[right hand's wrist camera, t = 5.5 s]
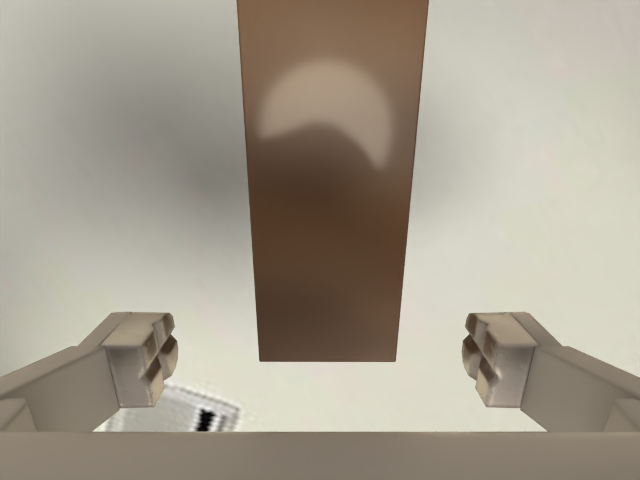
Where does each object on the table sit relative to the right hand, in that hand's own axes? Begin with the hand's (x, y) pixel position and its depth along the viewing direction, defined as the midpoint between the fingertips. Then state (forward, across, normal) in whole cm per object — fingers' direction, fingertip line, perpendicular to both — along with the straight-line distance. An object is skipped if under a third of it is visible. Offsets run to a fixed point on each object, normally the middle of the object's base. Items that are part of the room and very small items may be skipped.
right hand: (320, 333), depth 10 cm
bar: (+11, 0, -10) cm, 15 cm away
